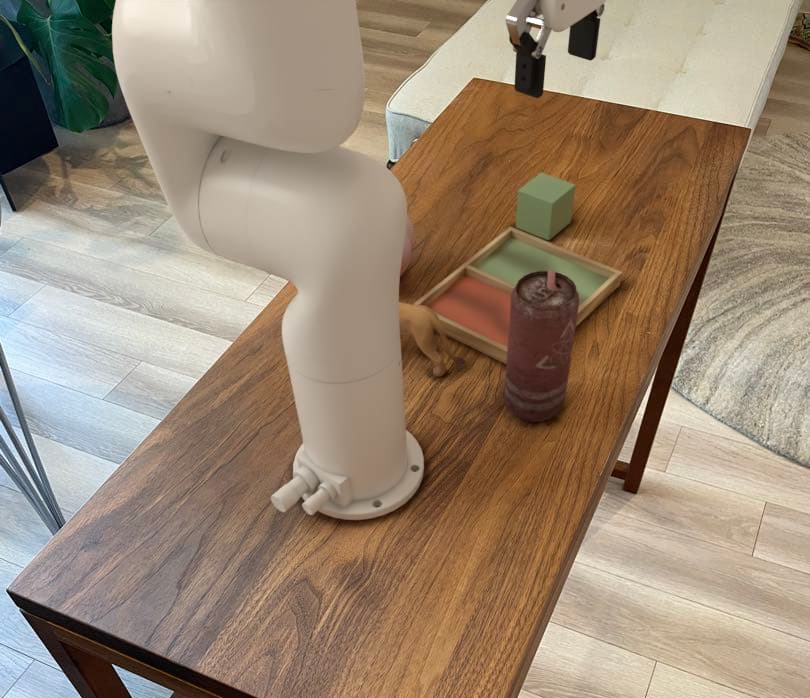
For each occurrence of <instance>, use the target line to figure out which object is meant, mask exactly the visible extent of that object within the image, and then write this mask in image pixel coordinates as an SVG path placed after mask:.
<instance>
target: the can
mask: <svg viewBox="0 0 810 698" xmlns="http://www.w3.org/2000/svg"><path fill="white" fill-rule="evenodd" d="M578 307H579V294H578V292H577V289H576V285H575V284H574V282H573V281H572V280H571V279H570V278H569V277H567V276H565V275H563V274H561V273H557V272H555V271H554V270H549V271H537V272H532V273H530V274H527V275H525V276H523V277H522V278H521V279H520V280H519V281H518V283H517V284H516V286H515V288H514V290H513V291H512V293H511V305H510V319H509V333H508V348H507V362H506V364H505V378H504V392H503V403H504V404H505V407H506V409H507V410H508V411H509V412H510V413H511V414H512V415H513V416H514V417H516V418H518V419H520V420H521V421H525V422H529V423H531V422H532V423H540V422H545V421H548V420H549V419H552V418H554V417H555V416H556V415H557V414H558V413H560V412H561V411H562V410H563V407H564V405H565V401H566V393H567V387H568V380H569V373H570V367H571V361H572V360H571V359H572V355H573V347H574V341H575V335H576V327H577V326H576V321H577V314H578Z"/></svg>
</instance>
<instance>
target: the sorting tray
mask: <svg viewBox="0 0 810 698" xmlns="http://www.w3.org/2000/svg"><path fill="white" fill-rule="evenodd" d="M549 270H554V271H555V272H557V273H561V274H563V275H565V276H567V277H569V278H570V279H571V280H572V281H573V282H574V284H575V285H576V289H577V292H578V294H579V307H578V314H577V321H576V327H577V326H579V325H580V324H581V323H582V322H583V321H584V320H585V319H586V318H587V317H588V316H589V315H590V314H591V313H592V312H593V311H595V310H596V308H597V307H599V306H600V304H602V303H603V302H604V301H605V300H606V299H607V298H608V297H609V296H611V294H613V292H615V291H616V289H617V288H619V287H620V285H621V280H622V276H623V271H621V270H618V269H615V268H614V267H611V266H608V265H606V264H604V263H601V262H599V261H597V260H593V259H591V258H589V257H587V256H585V255H581V254H579V253H577V252H574V251H572V250H569V249H567V248H565V247H561V246H560V245H557V244H554V243H552V242H551V241H548V240H546V239H543V238H541V237H538V236H536V235H533V234H531V233H528V232H526V231H524V230H521V229H519V228H516V227H513V226H509V227H508V228H506V229H505V230H504V231H503V232H501V233H500V234H499V235H497V237H495V238H494V239H493V240H491V241H490V242H489V243H488V244H486V245H485V246H484V247H483V248H481V249H480V250H479V251H478V252H476V253H475V254H474V255H473V256H471V257H470V258H469V259H467V261H465V262H464V263H463V264H461V265H460V266H459V267H458V268H456V269H455V270H454V271H453V272H452V273H450V274H449V275H448V276H447V277H445V278H444V279H442V280H441V281H440V282H439V283H437V284H436V285H435V286H434V287H432V288H431V289H430V290H429V291H427V293H425V294H424V295H422V296H421V297H420V298H419V299H418V300H416V301H415V302H414V303H413V304H412V305H423V306H426V307H428V308H430V309H431V310H432V311H434V312H435V313H436V314H437V316H438V318H439V322H440V323H441V325H442V328H443V330H444V332H445V335H446V336H447V337H449V338H452V339H454V340H456V341H458V342H459V343H462V344H463V345H466V346H467V347H470V348H472V349H474V350H476V351H478V352H480V353H482V354H485V355H486V356H488V357H490V358H492V359H494V360H497V361H498V362H500V363H503V364H505V365H506V362H507V348H508V333H509V319H510V305H511V293H512V291H513V290H514V288H515V286H516V284H517V283H518V281H519V280H520V279H521V278H522V277H523V276H525V275H527V274H530V273H532V272H537V271H549Z"/></svg>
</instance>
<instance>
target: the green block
mask: <svg viewBox="0 0 810 698" xmlns="http://www.w3.org/2000/svg"><path fill="white" fill-rule="evenodd" d="M575 193H576V184H575V183H572V182H569V181H566V180H563V179H561V178H558V177H556V176H553V175H551V174H548V173H544V172H540V173H538V174H537V175H536V176H534V177H533V178H532V179H530V180H529V181H528V182H526V184H524V185H522V186H521V187H520V188H519V189H518V190H517V200H516V213H515V229H518V230H520V231H523V232H525V233H528V234H530V235H533V236H535V237H538V238H540V239H542V240H545V241H547V242H550V240H552V239H553V238H554V237H555V236H557V234H559V233H560V232H561V231H562V230H563V229H564V228H566V227H567V226H568V225H570V223H572V215H573V209H574V201H575Z"/></svg>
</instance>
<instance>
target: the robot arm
mask: <svg viewBox="0 0 810 698" xmlns="http://www.w3.org/2000/svg"><path fill="white" fill-rule="evenodd" d="M606 1H607V0H516V1H515V3H514V4H513V6H512V7H511V9H510V10H509V12H508V13H507V15H506V17H505V24H506V25H505V26H506V28H507V31H508V38H509V42H510V44H511V46H512V51H513V52H515V68H514V69H515V70H514V90H515V91H516V92H517V93H521V94H523V95H526V96H530V97H533V98H535V99H540V98H541V97H542V96H543V95H544V88H545V77H546V74H545V73H546V65H547V64H546V63H547V62H546V61H547V55H546V54H543V53H544V50H545V48H546V45H547V43H548V40H549V38H550V35H551V33H552V32H555V33H563V32H564V31H566V30H568V29H569V35H568V45H567V53H568V54H569V55H571V56H574V57H577V58H580V59H583V60H586V61H593V60H594V59H595V58H596V56H597V49H598V43H599V41H598V40H599V35H600V26H601V18H600V17H602V16H603V14H604V11H605V7H606V6H605V3H606ZM357 9H358V8H357V2H356V0H115V3H114V7H113V13H112V24H111V39H112V42H111V43H112V54H113V56H112V57H113V61H114V67H115V71H116V72H115V73H116V76H117V80H118V84H119V86H120V90H121V92H122V96H123V98H124V101H125V104H126V106H127V109H128V112H129V114H130V117H131V119H132V122H133V123H134V126H135V128H136V131H137V133H138V136H139V139H140V141H141V143H142V146H143V148H144V150H145V153H146V156H147V158H148V160H149V163H150V165H151V169H152V170H153V173H154V175H155V178H156V180H157V182H158V185H159V187H160V190H161V192H162V194H163V196H164V199H165V202H166V203H167V207H168V209H169V211H170V214H172V215H171V216H172V217H173V218H174V221H175V222H176V224H177V226H178V227H179V229H180V231H181V232H182V233H183V234H184V235H185V236H186V238H187V239H188V240H189V241H190V242H191V243H193V245H195V246H196V247H198V248H200V249H201V250H203V251H205V252H207V253H209V254H212V255H214V256H217V257H220V258H222V259H225V260H228V261H231V262H233V263H237V264H240V265H243V266H246V267H250V268H253V269H256V270H258V271H263V272H265V273H267V274H269V275H271V276H275V277H278V278H281V279H284V280H285V281H287V282H289V283H291V284H292V285H294V287H295V288H296V291H297V293H296V294H295V296H294V297H293V298H292V299H291V300H290V303H289V304H288V305H287V307H286V309H285V311H284V314H283V316H282V322H281V340H282V345H283V349H284V350H283V351H284V355H285V359H286V364H287V369H288V373H289V379H290V382H291V388H292V389H291V390H292V393H293V394H292V395H293V398H294V403H295V409H296V414H297V418H298V423H299V428H300V433H301V438H302V444H301V445H300V446H299V447H298V449H297V452H296V454H295V456H294V459H293V464H292V479H291V480H290V481H289V482H287V483H286V484H283V485H282V486H281V487H280V488H279V489H278V490H277V491H275V492H274V493H273V494H272V495H271V496H270V501H271V503H272V505H273V506H274V507H275V508H276V509H277V510H278V511H280V512H281V513H286V512H287V511H289V510H290V509H291V508H292V507H293V506H294V505H295V504H297V503H298V501H300V499H301V498H302V499H303V501H304V502H302V503H301V507H302V509H303V511H304V512H305V513H306V514H307V515H309V516H314V515H315V514H316V513H317V512H318V513H321V514H322V515H326V516H328V517H331V518H335V519H340V520H347V521H361V520H369V519H370V520H371V519H375V518H378V517H383V516H385V515H387V514H390V513H392V512H394V511H396V510H397V509H399V508H400V507H402V506H403V505H405V504H406V503H408V501H409V500H410V499H411V498H413V496H414V495H415V494H416V492H417V491H418V489H420V485H421V484H422V482H423V478H424V472H425V457H424V453H423V449H422V447H421V446H420V444H419V443H420V442H419V441H418V440H417V439H416V437H414V435H413V434H412V433H411V432H410V431H408V430H407V427H406V425H407V424H406V411H405V409H406V407H405V392H404V391H405V390H404V376H403V359H402V357H403V356H402V345H401V343H402V342H401V335H400V325H399V301H400V279H401V276H400V270H401V262H402V255H403V249H404V242H405V235H406V227H407V216H408V202H407V201H408V200H407V197H406V194H405V191H404V188H403V186H402V184H401V182H400V181H399V179H398V178H397V176H395V174H394V173H393V172H392V171H391V170H390V169H389V168H387V166H385V165H384V164H382V163H381V162H379V161H378V160H376V159H374V158H373V157H371V156H369V155H366V154H364V153H362V152H360V151H357V150H354V149H350V148H348V147H344V146H341V145H343V144H344V143H345V142H346V141H347V140H349V139H350V138H351V136H352V135H353V134H354V133H355V131H356V130H357V128H358V126H359V125H360V121H361V119H362V114H363V110H364V106H365V100H366V76H365V75H366V74H365V62H364V54H363V53H364V52H363V44H362V38H361V30H360V23H359V17H358V10H357ZM540 16H542V17H543V18H540ZM532 28H534V29H538V34H537V36H536V38H535V39H534V37H533V36H532V35H531V33H530V32H531V30H532Z"/></svg>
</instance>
